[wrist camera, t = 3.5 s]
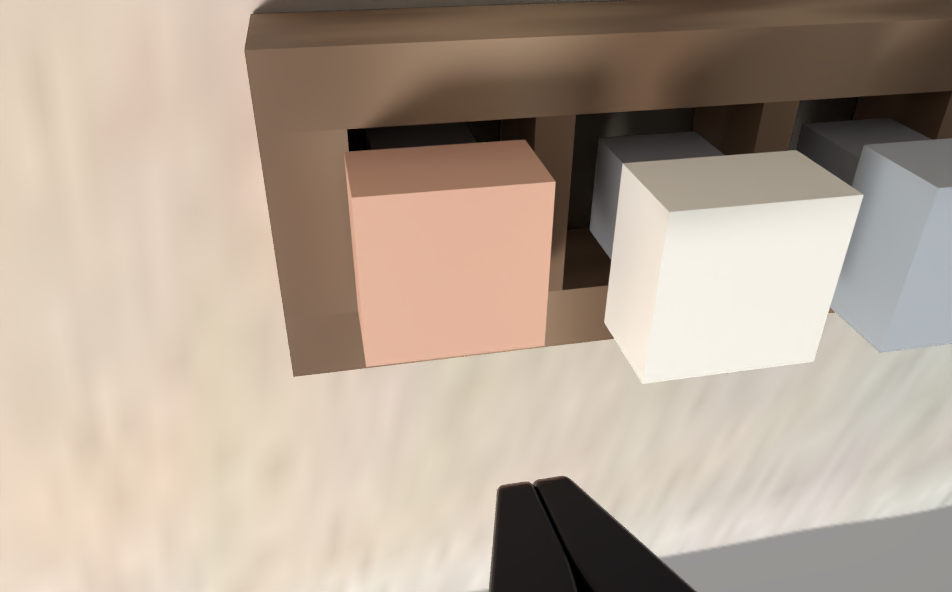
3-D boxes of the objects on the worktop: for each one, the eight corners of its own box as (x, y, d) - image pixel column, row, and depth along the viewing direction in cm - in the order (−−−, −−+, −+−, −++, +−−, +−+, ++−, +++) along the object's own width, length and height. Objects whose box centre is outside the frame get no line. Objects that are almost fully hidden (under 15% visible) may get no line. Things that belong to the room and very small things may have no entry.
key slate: (920, 90, 17) (1108, 172, 13) (877, 225, 19) (1032, 332, 15) (783, 99, 17) (938, 188, 13) (752, 236, 19) (879, 352, 15)
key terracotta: (492, 94, 17) (555, 181, 13) (489, 232, 19) (544, 346, 15) (335, 103, 16) (351, 197, 12) (348, 245, 18) (366, 367, 14)
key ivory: (724, 102, 17) (863, 195, 13) (698, 242, 18) (813, 361, 14) (573, 112, 16) (668, 211, 12) (562, 255, 18) (642, 383, 14)
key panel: (948, -12, 18) (1044, 14, 16) (866, 248, 22) (934, 300, 20) (250, 14, 15) (244, 50, 13) (292, 308, 19) (293, 376, 17)
